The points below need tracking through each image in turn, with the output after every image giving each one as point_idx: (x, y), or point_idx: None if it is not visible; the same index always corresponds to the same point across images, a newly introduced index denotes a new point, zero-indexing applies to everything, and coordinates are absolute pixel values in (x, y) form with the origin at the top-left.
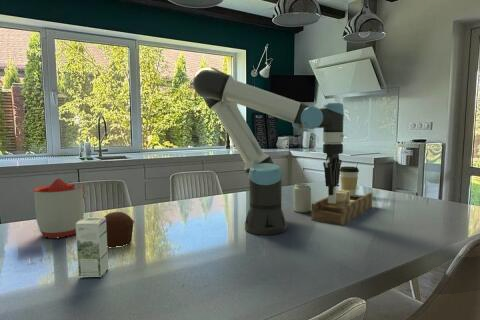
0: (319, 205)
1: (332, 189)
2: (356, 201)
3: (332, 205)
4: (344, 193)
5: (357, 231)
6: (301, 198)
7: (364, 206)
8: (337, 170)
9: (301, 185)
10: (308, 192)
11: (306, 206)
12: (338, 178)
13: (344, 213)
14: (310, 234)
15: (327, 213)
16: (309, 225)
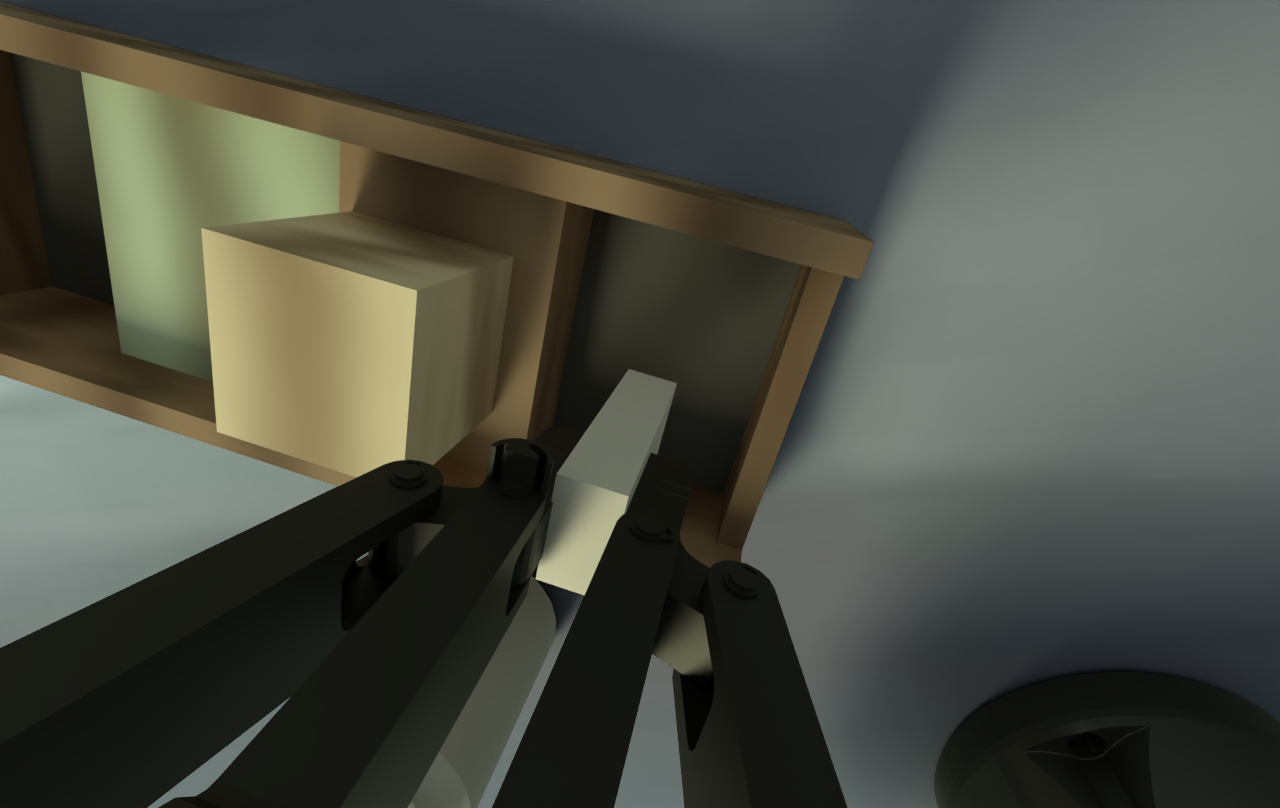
0: None
1: (669, 512)
2: (372, 110)
3: (489, 395)
4: (417, 297)
5: (1058, 34)
6: (509, 703)
7: (174, 51)
8: (131, 708)
9: None
10: None
11: None
12: (341, 522)
13: (830, 225)
14: (1242, 484)
15: (789, 414)
16: (927, 515)
